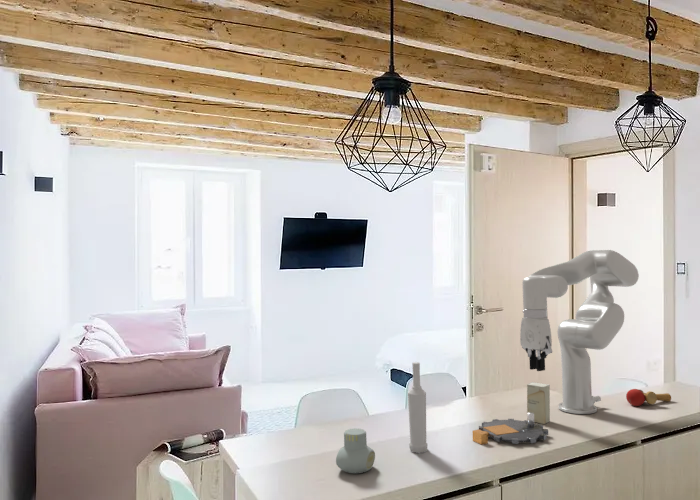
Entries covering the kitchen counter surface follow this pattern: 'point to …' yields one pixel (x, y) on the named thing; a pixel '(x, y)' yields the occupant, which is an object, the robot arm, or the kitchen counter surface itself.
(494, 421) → the sprocket wheel
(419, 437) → the bottle
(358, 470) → the air freshener
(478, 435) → the wooden block
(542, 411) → the skincare box
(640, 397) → the kendama
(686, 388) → the kitchen counter surface
